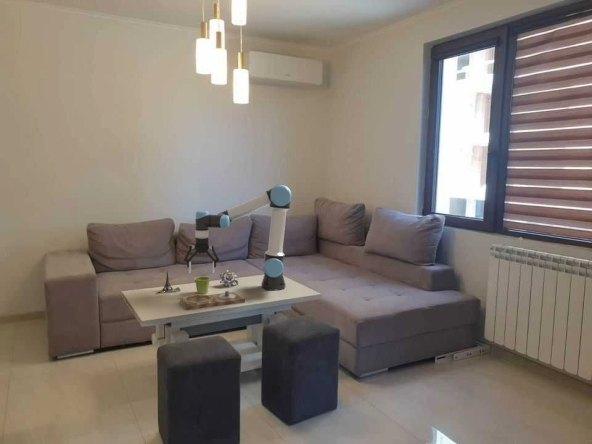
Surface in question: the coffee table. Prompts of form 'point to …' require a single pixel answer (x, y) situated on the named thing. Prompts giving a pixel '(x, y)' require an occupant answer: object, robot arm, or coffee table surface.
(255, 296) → the coffee table surface
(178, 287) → the eiffel tower figurine
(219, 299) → the mount board
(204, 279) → the plant pot
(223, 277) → the passion flower
